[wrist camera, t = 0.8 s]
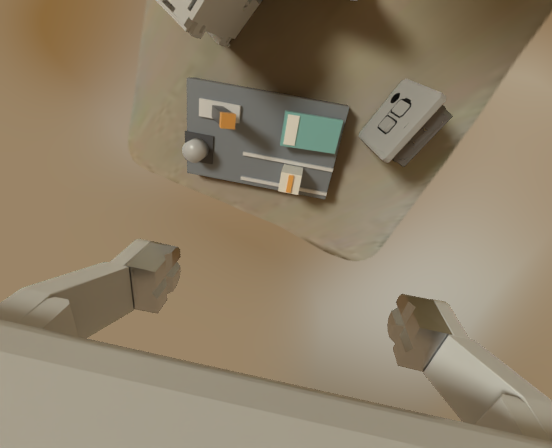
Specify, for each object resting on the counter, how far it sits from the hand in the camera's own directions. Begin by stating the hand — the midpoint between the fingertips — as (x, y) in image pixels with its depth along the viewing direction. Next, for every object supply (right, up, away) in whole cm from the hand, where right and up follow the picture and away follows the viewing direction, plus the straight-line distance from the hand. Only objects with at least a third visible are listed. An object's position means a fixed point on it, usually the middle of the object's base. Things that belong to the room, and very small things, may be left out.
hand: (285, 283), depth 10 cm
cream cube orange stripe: (+2, +10, +33) cm, 35 cm away
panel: (-2, +16, +34) cm, 37 cm away
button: (-12, +14, +33) cm, 38 cm away
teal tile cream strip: (+4, +15, +29) cm, 33 cm away
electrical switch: (+17, +18, +30) cm, 39 cm away
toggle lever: (-9, +18, +29) cm, 35 cm away
